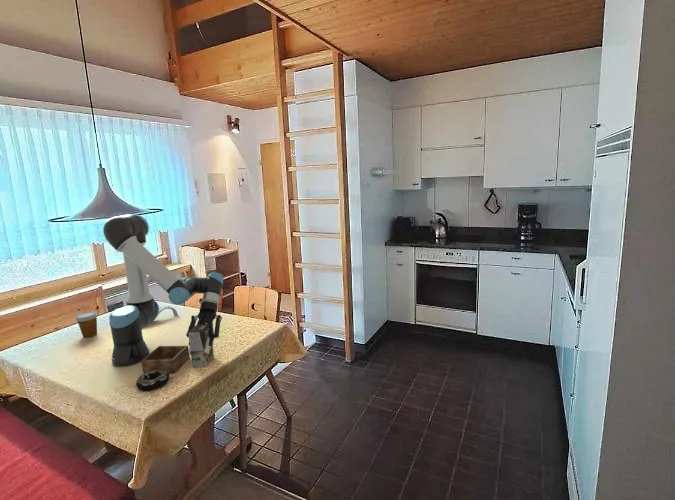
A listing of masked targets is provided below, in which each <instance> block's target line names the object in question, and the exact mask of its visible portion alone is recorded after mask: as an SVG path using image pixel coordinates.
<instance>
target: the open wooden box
mask: <svg viewBox="0 0 675 500" xmlns="http://www.w3.org/2000/svg"><path fill="white" fill-rule="evenodd" d="M190 356H191V355H190V353H189V345H159V346H157V347H156V348H155V349H154V350H152V351H151V352H150V354H149V355H148V356H146V357H145V358H144V359H143V360H142V361H141V367H142V375H143V374H145V373H147V372H149V371H153V370H164V371H166V372H167V373H168V374H170V375H172V374H173V375H175V374H176V373H177V372H178V371H179V370H180V369H181V368H182V367H183V366H184V365H185V363H187V361H189V360H190V358H191V357H190Z"/></svg>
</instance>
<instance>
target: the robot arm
mask: <svg viewBox="0 0 675 500" xmlns="http://www.w3.org/2000/svg"><path fill="white" fill-rule="evenodd" d="M102 229H103V230H102V231H103V236H104V237H105V240H106V241H107V242H108V243H109V245H110V246H111V247H112V248H113V249H115V251H116V252H118V253H122V254H123V255H122V256H123V261H124V268H125V276H126V283H127V289H128V296H129V297H128V298H127V299H126V301H125V302H126V305H125V306H121V307H118V308H116V309H114V310H112V312H111V313H110V314H109V318H108V319H109V326H110V332H111V336H112V337H111V338H112V342H113V349H112V355H111V363H112V365H113V366H115V367H127V366H133V365H136V364H138V363H140V362H141V361H142V360H143V359H144V358H145V357H146V356H148V355H149V354H150V353H151V352H150V349H149V347H148V345H147V344H146V341H144V336H143V331H142V330H143V329H144V328H146V327H147V326H149V325H150V324H149V323H151V322H152V321H153V320H154V319H155V318H156V319H157V317H158V316H159V315H158V313H159V308H160V305H159V303H158V302H157V301H156V300H155V299H154V295H152V294H151V293H150V290H149V289H150V288H149V279H148V277H149V278H150V279H152V280H153V281H154V282H155V283H156V284H157V285H158V286H159V287H160V288H162V289H163V290H164V291H165V292H166V293H167V294H168V299H169V302H171V303H172V304H173V305H183V304H184V303H186V302H187V301H189V299H191V298H192V297H193V296H194V295H196V294H202V297H201V298H202V299H201V304H200V306H199V312H198V314H197V315H191V317H190V318H191V320H190V323H189V326H188V328H187V329H188V330H187V332H186V334H185V335H186V337H187V338H188V339H189V334H188V332H189V331H190V330H191V329H192V328H193V327H195V326H196V325H197V324H210V329H209V334H210V337H208V339H207V344H206V348H205V353H206V354H209V350H210V346H212V345H213V344H214V340H215V339H219V336H220V329H221V322H222V319H223V316H221V315H220V314H218V315H217V312H218V308H219V306H218V305H219V304H220V303H219V302H220V298H221V293H222V289H223V286H224V285H223V284H224V276H223V274H221V273H219V272H213V271H212V272H209V273H208V275H207V276H206V277H191V276H188V277H187V276H186V277H181V278H179V277H178V276H176V275H175V274H174V273H173V272H172V271H171V270H170V269H169V268H168V267H167V266H166V265H164V264H163V263H162V262H161V260H159V259H158V258H157V257H156V256H154V254H152V252H151V251H149V250H148V249H147V248H146V247H145V246H144V245H146V243H147V234H148V233H149V230H150V226H149V223H148V221H147V220H146V218H145V217H143V216H142V215H141V214H140V215H139V214H136V213H133V214H132V213H127V214H124V215H118V216H113V217H110V218H109V219H107V221H106V222H105V223H104V225H103V228H102ZM159 314H160V313H159ZM156 319H155V320H156ZM155 320H154V321H155ZM214 320H215V323H214ZM154 321H153V322H154ZM148 324H149V325H148ZM151 324H152V323H151ZM214 324H215V327H214ZM213 346H214V345H213ZM188 349H189V355H191V351H190V342H189V341H188ZM141 363H142V362H141Z"/></svg>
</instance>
